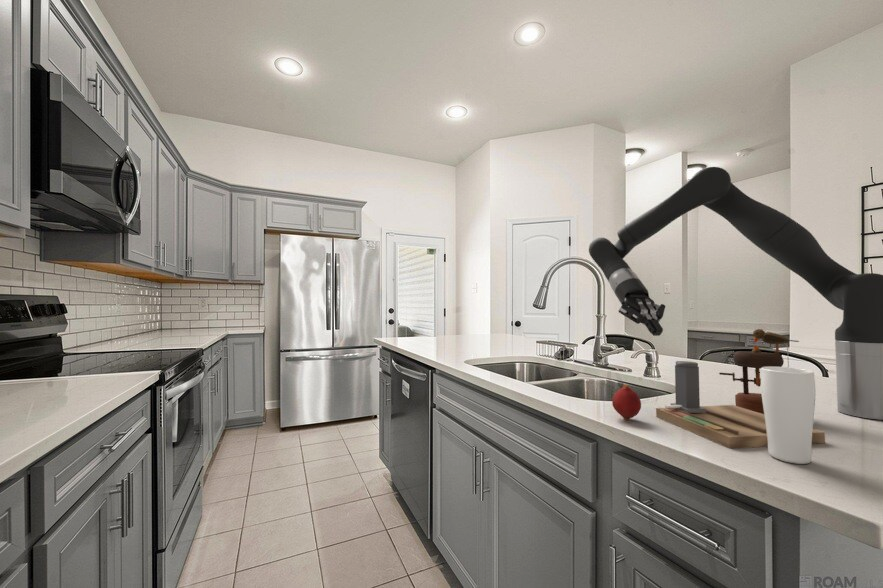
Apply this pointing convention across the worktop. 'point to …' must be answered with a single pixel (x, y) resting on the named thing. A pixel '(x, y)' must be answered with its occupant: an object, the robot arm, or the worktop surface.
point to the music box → (757, 368)
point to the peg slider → (687, 387)
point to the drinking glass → (788, 412)
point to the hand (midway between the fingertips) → (658, 333)
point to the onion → (626, 402)
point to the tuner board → (726, 425)
